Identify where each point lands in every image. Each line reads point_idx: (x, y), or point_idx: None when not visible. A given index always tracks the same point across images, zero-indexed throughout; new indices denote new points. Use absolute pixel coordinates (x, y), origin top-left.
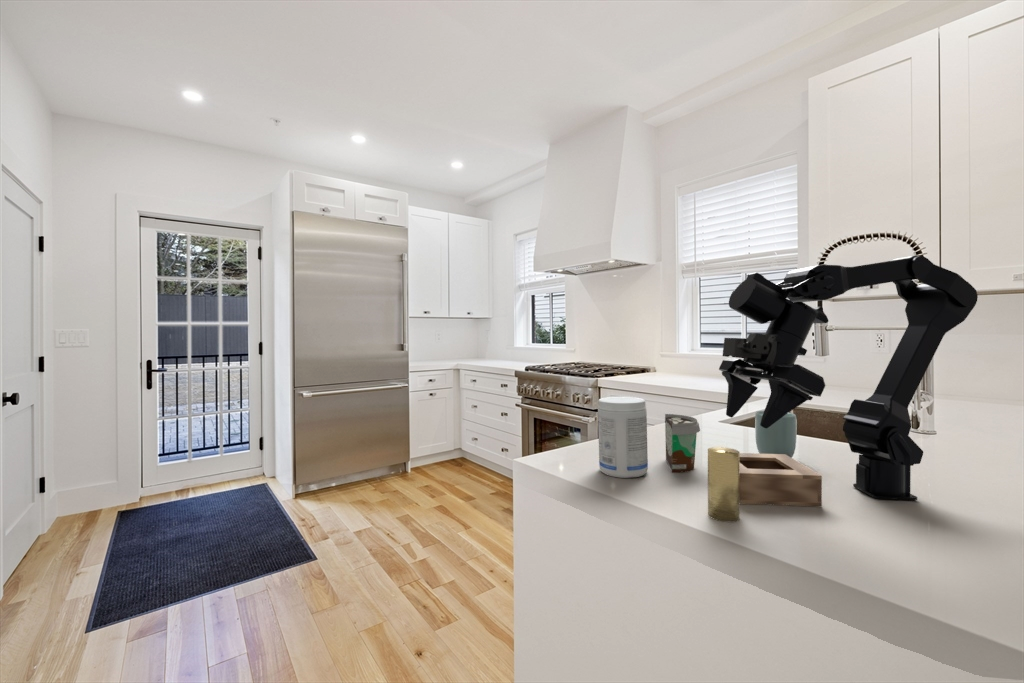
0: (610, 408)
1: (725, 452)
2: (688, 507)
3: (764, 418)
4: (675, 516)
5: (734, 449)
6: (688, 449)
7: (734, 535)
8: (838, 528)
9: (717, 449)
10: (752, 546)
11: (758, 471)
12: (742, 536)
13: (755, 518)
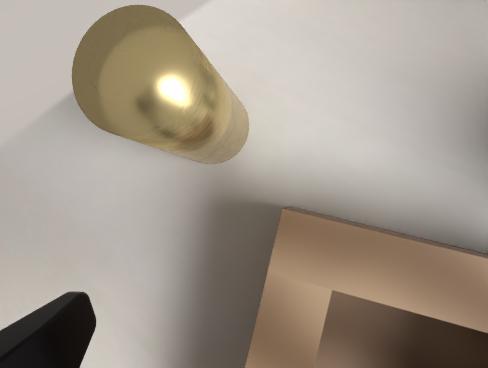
0: None
1: (103, 64)
2: (278, 61)
3: (23, 319)
4: (224, 3)
5: (144, 131)
6: None
7: None
8: (113, 354)
9: (155, 54)
10: (62, 104)
11: (290, 307)
12: None
13: (188, 198)
